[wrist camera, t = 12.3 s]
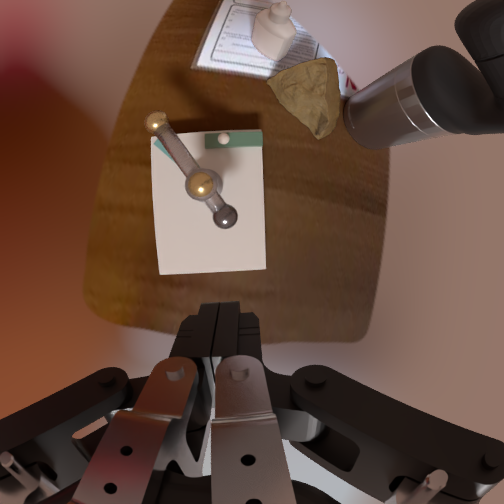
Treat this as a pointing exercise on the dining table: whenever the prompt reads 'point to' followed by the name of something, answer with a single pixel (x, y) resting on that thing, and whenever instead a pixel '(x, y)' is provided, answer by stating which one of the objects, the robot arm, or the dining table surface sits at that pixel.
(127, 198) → the dining table surface
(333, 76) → the rock
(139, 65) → the dining table surface
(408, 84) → the robot arm
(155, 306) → the dining table surface
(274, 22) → the eye dropper bottle
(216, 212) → the crank handle
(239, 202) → the stand
